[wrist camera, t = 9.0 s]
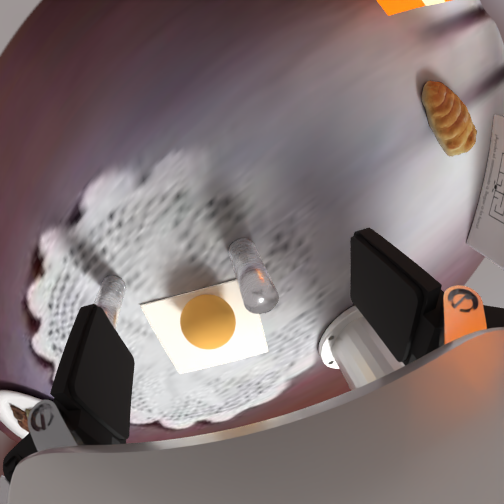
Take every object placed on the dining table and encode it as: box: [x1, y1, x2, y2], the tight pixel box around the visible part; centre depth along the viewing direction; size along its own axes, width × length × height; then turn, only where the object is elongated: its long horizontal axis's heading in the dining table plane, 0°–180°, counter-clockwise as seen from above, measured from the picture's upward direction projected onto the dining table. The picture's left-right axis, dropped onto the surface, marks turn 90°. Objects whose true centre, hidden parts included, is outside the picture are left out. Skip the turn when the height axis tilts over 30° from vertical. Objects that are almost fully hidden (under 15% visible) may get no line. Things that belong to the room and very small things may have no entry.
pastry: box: [422, 81, 477, 156], centre depth 23 cm, size 9×7×4 cm
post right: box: [229, 238, 279, 314], centre depth 24 cm, size 3×3×8 cm
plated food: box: [0, 390, 42, 439], centre depth 36 cm, size 30×30×3 cm
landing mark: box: [140, 279, 269, 374], centre depth 31 cm, size 12×12×1 cm
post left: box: [94, 275, 126, 329], centre depth 23 cm, size 3×3×8 cm
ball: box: [180, 294, 236, 350], centre depth 27 cm, size 6×6×6 cm
